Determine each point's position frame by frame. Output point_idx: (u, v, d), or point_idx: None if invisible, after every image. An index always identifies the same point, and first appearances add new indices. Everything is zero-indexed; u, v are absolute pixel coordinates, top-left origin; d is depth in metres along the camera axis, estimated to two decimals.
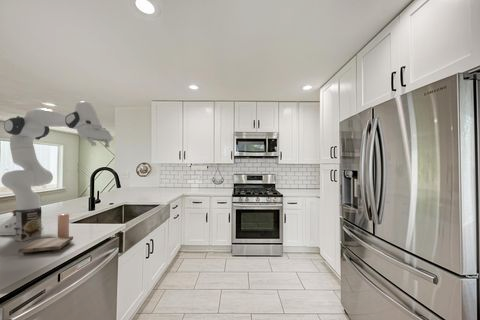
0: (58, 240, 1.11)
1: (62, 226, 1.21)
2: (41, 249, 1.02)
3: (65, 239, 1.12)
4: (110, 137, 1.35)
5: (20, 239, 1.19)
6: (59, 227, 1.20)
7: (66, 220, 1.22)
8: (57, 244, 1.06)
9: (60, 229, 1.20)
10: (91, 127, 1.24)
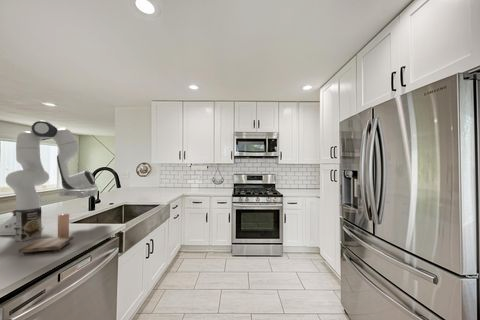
0: (58, 240, 1.11)
1: (62, 226, 1.21)
2: (41, 249, 1.02)
3: (65, 239, 1.12)
4: None
5: (20, 239, 1.19)
6: (59, 227, 1.20)
7: (66, 220, 1.22)
8: (57, 244, 1.06)
9: (60, 229, 1.20)
10: (88, 194, 1.46)
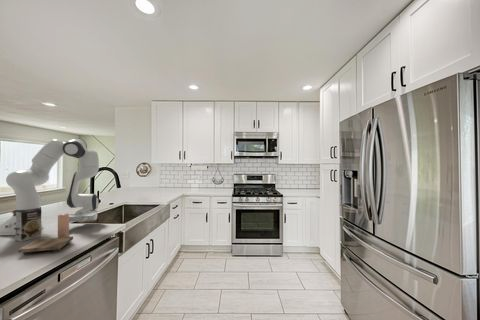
0: (58, 240, 1.11)
1: (62, 226, 1.21)
2: (41, 249, 1.02)
3: (65, 239, 1.12)
4: None
5: (20, 239, 1.19)
6: (59, 227, 1.20)
7: (66, 220, 1.22)
8: (57, 244, 1.06)
9: (60, 229, 1.20)
10: None
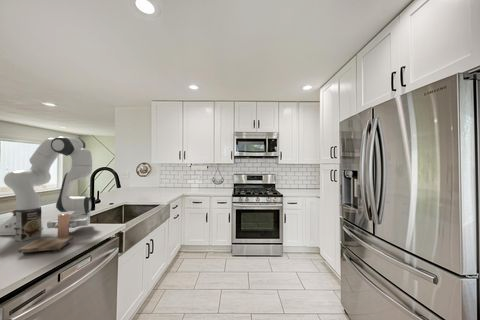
0: (58, 240, 1.11)
1: (62, 226, 1.20)
2: (41, 249, 1.02)
3: (65, 239, 1.12)
4: None
5: (20, 239, 1.19)
6: (59, 227, 1.20)
7: (66, 220, 1.22)
8: (57, 244, 1.06)
9: (60, 229, 1.20)
10: None
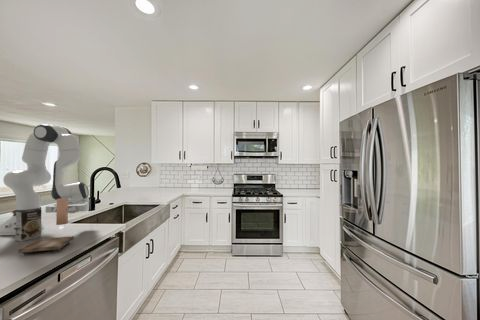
0: (58, 240, 1.11)
1: (60, 210, 1.19)
2: (41, 249, 1.02)
3: (65, 239, 1.12)
4: None
5: (20, 239, 1.19)
6: (58, 211, 1.19)
7: (65, 204, 1.20)
8: (57, 244, 1.06)
9: (58, 213, 1.19)
10: None
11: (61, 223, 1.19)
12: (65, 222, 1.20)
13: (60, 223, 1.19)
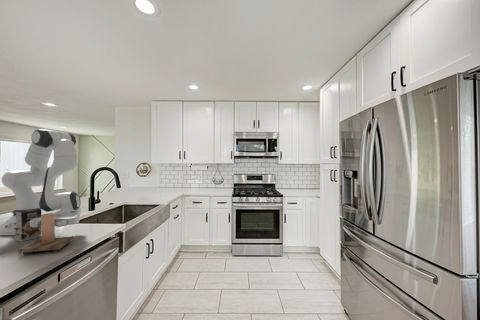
0: (58, 240, 1.11)
1: (46, 227, 1.06)
2: (41, 249, 1.02)
3: (65, 239, 1.12)
4: None
5: (20, 239, 1.19)
6: (43, 228, 1.06)
7: (51, 220, 1.08)
8: (57, 244, 1.06)
9: (44, 230, 1.06)
10: None
11: (46, 242, 1.06)
12: (51, 240, 1.07)
13: (45, 242, 1.06)
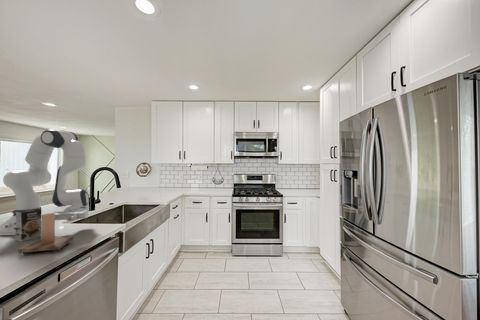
0: (58, 240, 1.11)
1: (46, 228, 1.06)
2: (41, 249, 1.02)
3: (65, 239, 1.12)
4: None
5: (20, 239, 1.19)
6: (43, 229, 1.06)
7: (51, 221, 1.08)
8: (57, 244, 1.06)
9: (44, 231, 1.06)
10: None
11: (46, 242, 1.06)
12: (51, 241, 1.07)
13: (45, 242, 1.06)
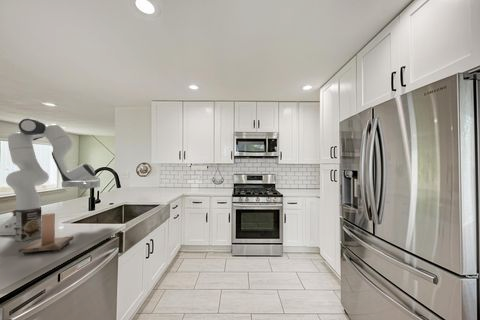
0: (58, 240, 1.11)
1: (46, 228, 1.06)
2: (41, 249, 1.02)
3: (65, 239, 1.12)
4: None
5: (20, 239, 1.19)
6: (43, 229, 1.06)
7: (51, 221, 1.08)
8: (57, 244, 1.06)
9: (44, 231, 1.06)
10: None
11: (46, 242, 1.06)
12: (51, 241, 1.07)
13: (45, 242, 1.06)
